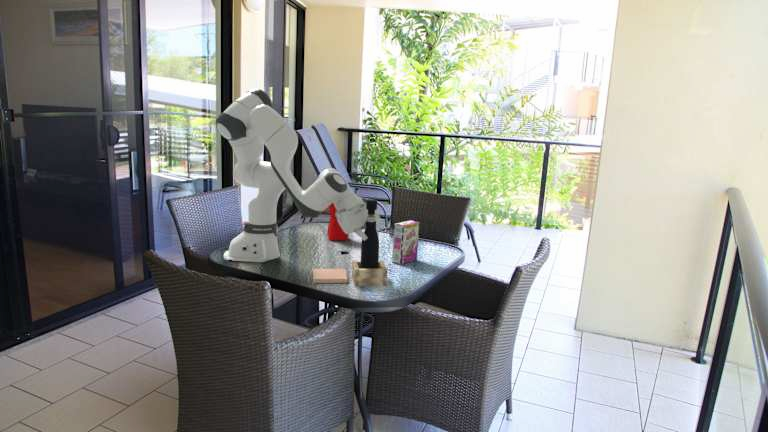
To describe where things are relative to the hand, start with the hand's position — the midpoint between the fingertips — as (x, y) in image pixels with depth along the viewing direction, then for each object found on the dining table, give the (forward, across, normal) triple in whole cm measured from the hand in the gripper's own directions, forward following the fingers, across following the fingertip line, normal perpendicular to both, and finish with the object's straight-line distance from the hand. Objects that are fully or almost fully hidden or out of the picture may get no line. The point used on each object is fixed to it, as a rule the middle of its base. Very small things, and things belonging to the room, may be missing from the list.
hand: (371, 237), depth 207 cm
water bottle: (-21, +43, +44) cm, 65 cm away
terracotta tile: (+2, -6, +22) cm, 22 cm away
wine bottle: (+11, 0, +12) cm, 17 cm away
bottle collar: (+11, 0, +12) cm, 16 cm away
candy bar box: (+10, +31, +14) cm, 35 cm away
